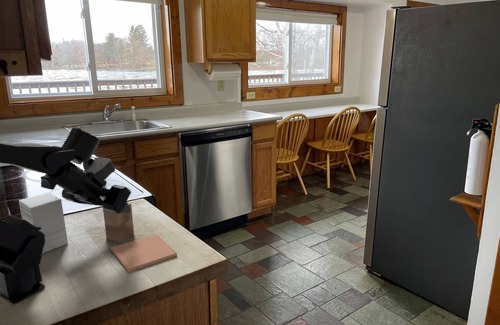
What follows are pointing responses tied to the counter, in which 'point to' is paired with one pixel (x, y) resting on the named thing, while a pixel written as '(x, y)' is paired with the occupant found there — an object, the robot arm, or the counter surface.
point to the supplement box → (46, 218)
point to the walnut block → (118, 225)
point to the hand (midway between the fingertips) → (116, 207)
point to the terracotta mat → (143, 252)
